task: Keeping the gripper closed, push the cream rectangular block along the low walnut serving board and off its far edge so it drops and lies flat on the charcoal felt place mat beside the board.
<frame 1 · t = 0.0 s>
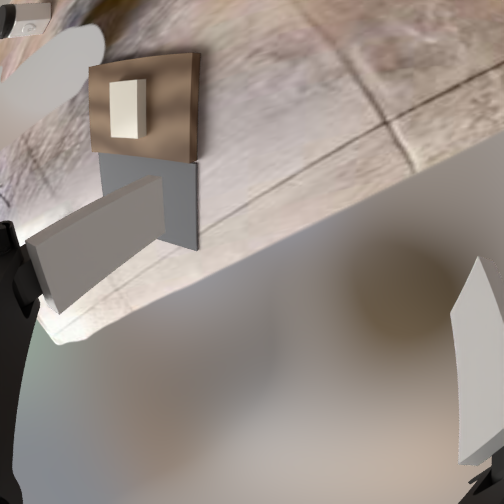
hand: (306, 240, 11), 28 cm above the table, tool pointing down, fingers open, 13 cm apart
jar: (43, 18, 40), on the table
serving board: (140, 106, 43), on the table
place mat: (144, 197, 51), on the table
cream rectangular block: (131, 107, 41), point 2 cm above the table, touching serving board
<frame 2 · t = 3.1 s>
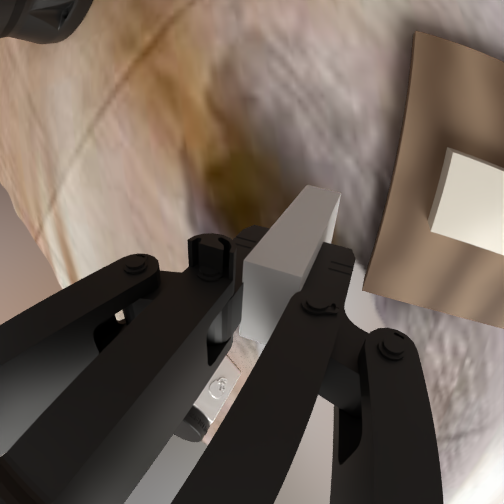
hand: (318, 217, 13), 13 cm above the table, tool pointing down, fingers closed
jar: (215, 363, 45), on the table
serving board: (480, 193, 20), on the table
cream rectangular block: (487, 201, 18), point 2 cm above the table, touching serving board
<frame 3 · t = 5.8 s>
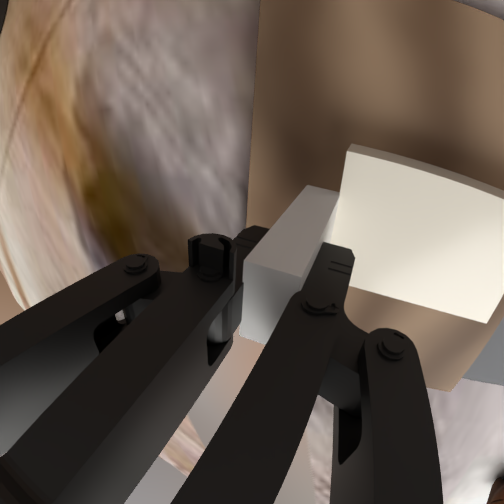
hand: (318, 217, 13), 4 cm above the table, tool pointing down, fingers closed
serving board: (403, 206, 15), on the table
cream rectangular block: (428, 228, 13), point 2 cm above the table, touching gripper
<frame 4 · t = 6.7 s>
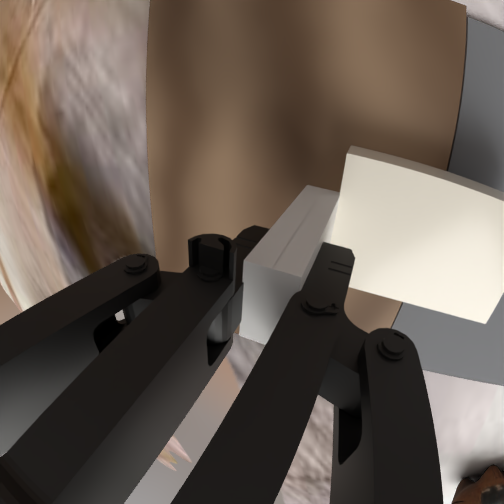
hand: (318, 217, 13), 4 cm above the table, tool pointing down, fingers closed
serving board: (285, 178, 17), on the table
decorative turtle: (487, 474, 23), on the table
cream rectangular block: (427, 229, 13), point 2 cm above the table, touching gripper
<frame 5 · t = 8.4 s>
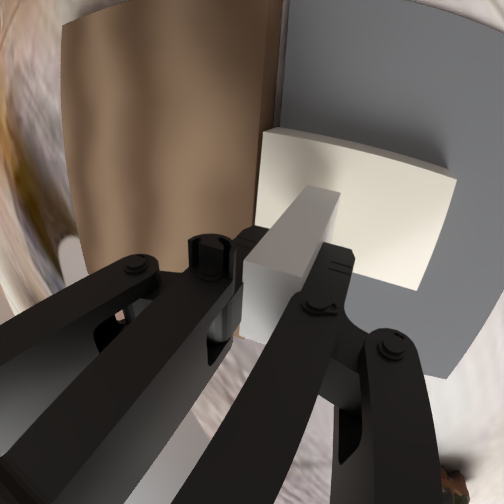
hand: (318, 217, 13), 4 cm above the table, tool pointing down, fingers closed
serving board: (155, 159, 20), on the table
decorative turtle: (435, 474, 26), on the table
place mat: (409, 212, 15), on the table
cream rectangular block: (352, 199, 15), resting on place mat
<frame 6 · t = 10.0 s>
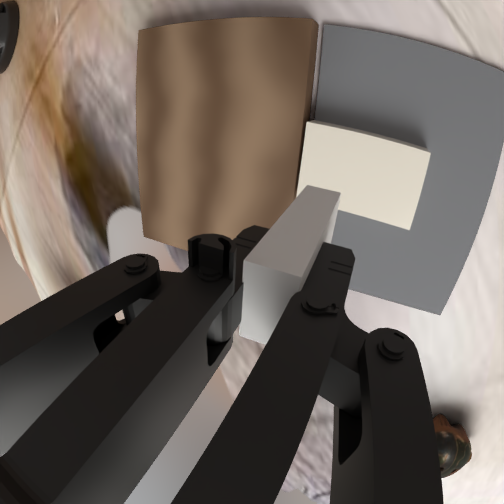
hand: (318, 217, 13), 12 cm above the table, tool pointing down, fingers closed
serving board: (217, 141, 26), on the table
decorative turtle: (439, 427, 32), on the table
place mat: (402, 178, 21), on the table
cream rectangular block: (363, 169, 22), resting on place mat
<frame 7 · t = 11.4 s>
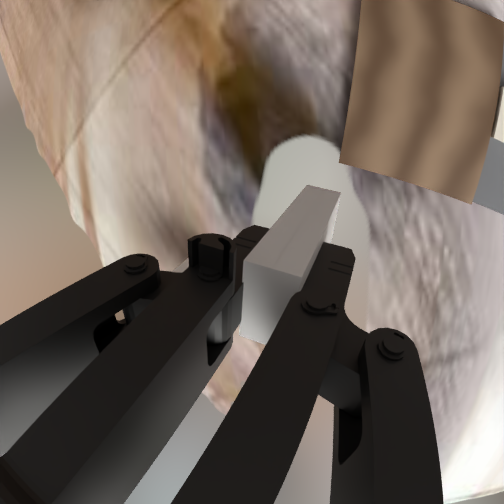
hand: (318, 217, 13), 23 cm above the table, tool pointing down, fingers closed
serving board: (426, 86, 26), on the table
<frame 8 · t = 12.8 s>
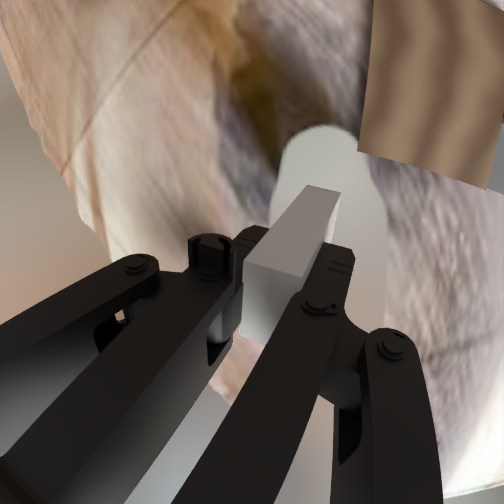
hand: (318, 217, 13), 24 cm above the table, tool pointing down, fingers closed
serving board: (438, 75, 25), on the table
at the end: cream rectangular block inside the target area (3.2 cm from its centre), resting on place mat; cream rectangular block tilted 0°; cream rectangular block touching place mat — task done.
